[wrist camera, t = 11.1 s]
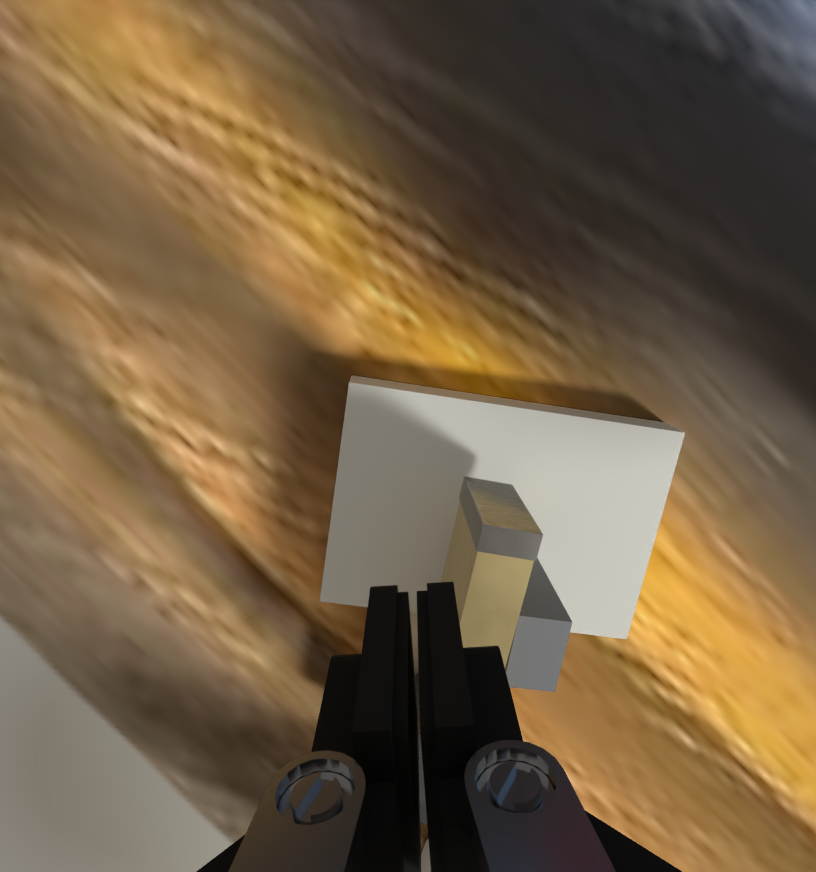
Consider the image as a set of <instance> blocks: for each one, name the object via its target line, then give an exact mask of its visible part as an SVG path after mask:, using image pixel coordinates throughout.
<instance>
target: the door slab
mask: <svg viewBox="0 0 816 872" xmlns="http://www.w3.org/2000/svg"><path fill="white" fill-rule="evenodd" d="M684 435H685V432H683V431H681V430H679V429H677V428H675V427H673V426H671V425H669V424H667V423H665V422H659V421H652V420H646V419H639V418H632V417H626V416H619V415H612V414H606V413H599V412H593V411H586V410H579V409H573V408H566V407H559V406H553V405H546V404H539V403H533V402H526V401H520V400H513V399H506V398H500V397H493V396H486V395H480V394H473V393H467V392H460V391H453V390H447V389H440V388H433V387H427V386H420V385H414V384H407V383H400V382H394V381H387V380H380V379H374V378H367V377H361V376H354V375H352V376H351V378H350V381H349V386H348V394H347V401H346V408H345V416H344V423H343V431H342V438H341V446H340V453H339V461H338V468H337V476H336V483H335V490H334V498H333V505H332V513H331V520H330V528H329V535H328V543H327V550H326V558H325V565H324V573H323V580H322V587H321V595H320V602H328V603H336V604H344V605H352V606H361V607H368V601H369V593H370V587H374V586H390V585H397V586H398V592H408V595H409V606H410V613H417V591H425V590H427V583H437V582H441V580H442V576H443V572H444V567H445V563H446V559H447V554H448V550H449V546H450V541H451V537H452V533H453V528H454V524H455V520H456V515H457V511H458V507H459V502H460V500H459V496H460V492H461V487H462V483H463V479H464V476H466V477H472V478H478V479H483V480H489V481H495V482H500V483H506V484H512V485H513V487H514V488H515V490H516V491H517V493H518V495H519V496H520V498H521V499H522V501H523V503H524V504H525V506H526V508H527V509H528V511H529V512H530V514H531V516H532V517H533V519H534V520H535V522H536V524H537V525H538V527H539V529H540V530H541V532H542V533H543V537H542V541H541V545H540V548H539V552H538V556H537V559H536V561H534V563H533V567H532V571H531V574H530V578H529V582H528V585H527V589H526V593H525V596H524V600H523V604H522V607H521V611H520V615H519V619H518V622H517V626H516V630H515V633H514V637H513V641H512V644H511V648H510V652H509V655H508V659H507V663H506V667H505V671H506V675H507V679H508V683H509V687H515V688H524V689H533V690H541V691H550V692H555V689H556V685H557V681H558V677H559V673H560V669H561V665H562V661H563V657H564V653H565V649H566V646H567V642H568V638H569V634H570V632H572V633H581V634H589V635H597V636H605V637H613V638H621V639H627V636H628V633H629V629H630V626H631V622H632V619H633V615H634V611H635V608H636V604H637V601H638V597H639V594H640V590H641V587H642V583H643V580H644V576H645V573H646V569H647V566H648V562H649V558H650V555H651V551H652V548H653V544H654V541H655V537H656V534H657V530H658V527H659V523H660V520H661V516H662V513H663V509H664V506H665V502H666V498H667V495H668V491H669V488H670V484H671V481H672V477H673V474H674V470H675V467H676V463H677V460H678V456H679V453H680V449H681V445H682V442H683V438H684Z"/></svg>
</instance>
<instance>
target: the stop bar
mask: <svg viewBox="0 0 816 872" xmlns="http://www.w3.org/2000/svg"><path fill="white" fill-rule="evenodd" d="M459 500H460V502H459V507H458V511H457V515H456V520H455V524H454V528H453V533H452V537H451V541H450V546H449V550H448V554H447V559H446V563H445V567H444V572H443V576H442V580H441V582H453V583H454V590H455V596H456V603H457V610H458V616H459V623H460V630H461V637H462V643H463V648H466V647H483V646H499V648H500V651H501V655H502V659H503V663H504V667H506V663H507V659H508V655H509V652H510V648H511V644H512V641H513V637H514V633H515V630H516V626H517V622H518V619H519V615H520V611H521V607H522V604H523V600H524V596H525V593H526V589H527V585H528V582H529V578H530V574H531V571H532V567H533V563H534V561H536V559H537V556H538V552H539V548H540V545H541V541H542V537H543V533H542V532H541V530H540V529H539V527H538V525H537V524H536V522H535V520H534V519H533V517H532V516H531V514H530V512H529V511H528V509H527V508H526V506H525V504H524V503H523V501H522V499H521V498H520V496H519V495H518V493H517V491H516V490H515V488H514V487H513V485H512V484H506V483H500V482H495V481H489V480H483V479H478V478H472V477H466V476H464V479H463V483H462V487H461V492H460V496H459ZM415 683H416V696H417V710H418V738H419V786H420V822H421V823H423V824H425V825H427V813H426V800H425V788H424V775H423V762H422V749H421V734H420V710H419V673H417V674H415Z"/></svg>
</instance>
